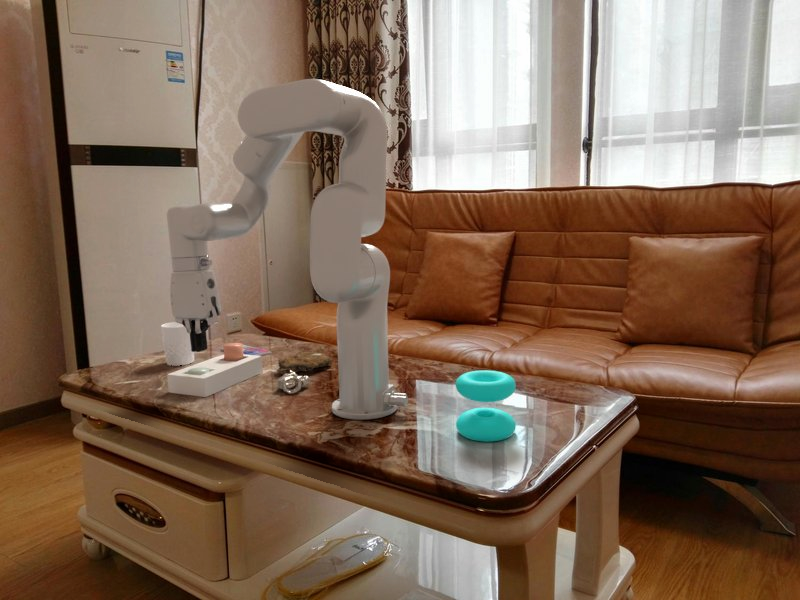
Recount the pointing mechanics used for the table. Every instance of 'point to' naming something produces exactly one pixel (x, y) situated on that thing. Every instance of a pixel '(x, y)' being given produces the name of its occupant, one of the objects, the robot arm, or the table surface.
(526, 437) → the table surface
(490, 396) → the donuts
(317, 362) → the decorative rock
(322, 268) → the robot arm
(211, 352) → the table surface
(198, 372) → the sage button
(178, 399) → the table surface
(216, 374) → the button box
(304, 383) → the ornament
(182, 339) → the white cup
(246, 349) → the smartphone
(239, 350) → the terracotta button
